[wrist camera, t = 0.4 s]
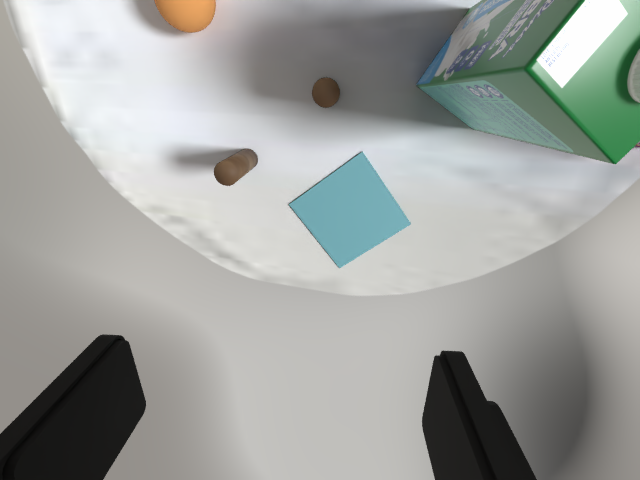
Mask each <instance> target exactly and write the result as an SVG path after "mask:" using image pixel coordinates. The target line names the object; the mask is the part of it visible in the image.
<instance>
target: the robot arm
mask: <svg viewBox="0 0 640 480" xmlns="http://www.w3.org/2000/svg"><path fill="white" fill-rule="evenodd" d="M145 407H146V401H145V397H144V393H143V390H142V387H141V383H140V380H139V376H138V372H137V369H136V365H135V362H134V358H133V355H132V352H131V348H130V345H129V342H128V341H125V339H124V337H123V336H119V335H100V336H98V337H97V338H96V339H95V340H94V341H93V342H92V343H91V344H90V345H89V346H88V347H87V348H86V349H85V350H84V351H83V352H82V353H81V354H80V355H79V356H78V357H77V358H76V359H75V360H74V361H73V362H72V363H71V364H70V365H69V366H68V367H67V368H66V369H65V370H64V371H63V372H62V373H61V374H60V375H59V376H58V377H57V378H56V379H55V380H54V381H53V382H52V383H51V384H50V385H49V386H48V387H47V388H46V389H45V390H44V391H43V392H42V393H41V394H40V395H39V396H38V397H37V398H36V399H35V400H34V401H33V402H32V403H31V404H30V405H29V406H28V407H27V408H26V409H25V410H24V411H23V412H22V413H21V414H20V415H19V416H18V417H17V418H16V419H15V420H14V421H13V422H12V423H11V424H10V425H9V426H8V427H7V428H6V429H5V430H4V431H3V432H2V433H1V434H0V480H103V479H104V477H105V476H106V474H107V472H108V471H109V469H110V467H111V466H112V464H113V462H114V461H115V459H116V458H117V456H118V454H119V453H120V451H121V450H122V448H123V446H124V445H125V443H126V441H127V440H128V438H129V437H130V435H131V433H132V432H133V430H134V429H135V427H136V425H137V423H138V422H139V420H140V419H141V417H142V416H143V414H144V411H145ZM422 427H423V432H424V436H425V441H426V445H427V449H428V453H429V457H430V461H431V465H432V469H433V473H434V477H435V480H537V479H536V477H535V475H534V473H533V471H532V470H531V467H530V465H529V463H528V461H527V460H526V458H525V456H524V454H523V452H522V450H521V448H520V446H519V444H518V442H517V440H516V438H515V436H514V434H513V432H512V430H511V428H510V426H509V425H508V422H507V420H506V418H505V416H504V415H503V413H502V411H501V409H500V407H499V406H498V405H497V404H496V403H495V402H493V401H487V400H486V398H485V396H484V394H483V392H482V390H481V387H480V385H479V383H478V381H477V379H476V377H475V375H474V373H473V371H472V369H471V367H470V365H469V363H468V360H467V358H466V356H465V354H464V353H463V352H459V351H442V352H441V354H440V356H435V357H434V361H433V366H432V372H431V376H430V381H429V386H428V392H427V397H426V402H425V407H424V412H423V417H422Z"/></svg>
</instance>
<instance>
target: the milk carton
mask: <svg viewBox="0 0 640 480" xmlns="http://www.w3.org/2000/svg"><path fill="white" fill-rule="evenodd" d="M416 86H417V87H419V88H420V89H421V90H423V91H424V92H425V93H426V94H428V95H429V96H430V97H432V98H433V99H434V100H436V101H437V102H438V103H439V104H441V105H442V106H443V107H445V108H446V109H447V110H449V111H450V112H451V113H452V114H454V115H455V116H456V117H458V118H459V119H460V120H461V121H463V122H464V123H465V124H467V125H468V126H469V127H471V128H472V129H474V130H478V131H482V132H486V133H490V134H494V135H498V136H502V137H506V138H510V139H515V140H519V141H523V142H527V143H531V144H535V145H539V146H543V147H547V148H551V149H555V150H559V151H563V152H567V153H571V154H575V155H579V156H584V157H588V158H592V159H596V160H600V161H604V162H608V163H612V164H616V163H617V162H619V161H620V160H621V159H622V158H623V157H624V156H625V155H626V154H627V153H628V152H629V151H630V150H631V149H632V148H633V147H634V146H635V145H636V144H637V143H638V142H639V141H640V0H482V1H480V2H479V3H477V4H476V5H474V6H473V7H471V8H470V9H469V10H468V12H467V13H466V15H465V16H464V17H463V19H462V20H461V22H460V23H459V25H458V26H457V27H456V29H455V30H454V32H453V33H452V34H451V36H450V37H449V39H448V40H447V42H446V43H445V44H444V46H443V47H442V49H441V50H440V51H439V53H438V54H437V56H436V57H435V59H434V60H433V61H432V63H431V64H430V66H429V67H428V68H427V70H426V71H425V73H424V74H423V76H422V77H421V78H420V80H419V81H418V83H417V84H416Z"/></svg>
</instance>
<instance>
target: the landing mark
mask: <svg viewBox="0 0 640 480" xmlns="http://www.w3.org/2000/svg"><path fill="white" fill-rule="evenodd" d="M289 205H290V207H291V208H292V209H293V210H294V212H295V213H296V214H297V215H298V217H299V218H300V219H301V220H302V222H303V223H304V224H305V225H306V227H307V228H308V229H309V230H310V232H311V233H312V234H313V235H314V237H315V238H316V239H317V240H318V242H319V243H320V244H321V245H322V247H323V248H324V249H325V250H326V252H327V253H328V254H329V256H330V257H331V258H332V259H333V261H334V262H335V263H336V264H337V266H338V267H339V268H341V267H342V266H344V265H346V264H347V263H349V262H350V261H352V260H354V259H355V258H357V257H359V256H360V255H362V254H363V253H365V252H367V251H368V250H370V249H371V248H373V247H375V246H376V245H378V244H380V243H381V242H383V241H384V240H386V239H388V238H389V237H391V236H393V235H394V234H396V233H397V232H399V231H401V230H402V229H404V228H406V227H407V226H409V225H410V224H411V223H410V222H409V220H408V219H407V217H406V216H405V214H404V213H403V211H402V210H401V208H400V207H399V205H398V204H397V202H396V201H395V199H394V198H393V196H392V195H391V193H390V192H389V191H388V189H387V188H386V186H385V185H384V183H383V182H382V180H381V179H380V177H379V176H378V174H377V173H376V171H375V170H374V168H373V167H372V165H371V164H370V162H369V161H368V159H367V158H366V156H365V155H364V153H363V152H361V153H360V154H358V155H357V156H355V157H354V158H353V159H351V160H350V161H349V162H347V163H346V164H344V165H343V166H342V167H340V168H339V169H337V170H336V171H335V172H333V173H332V174H330V175H329V176H328V177H326V178H325V179H324V180H322V181H321V182H319V183H318V184H317V185H315V186H314V187H312V188H311V189H310V190H308V191H307V192H305V193H304V194H303V195H301V196H300V197H299V198H297V199H296V200H294V201H293V202H292V203H290V204H289Z"/></svg>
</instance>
